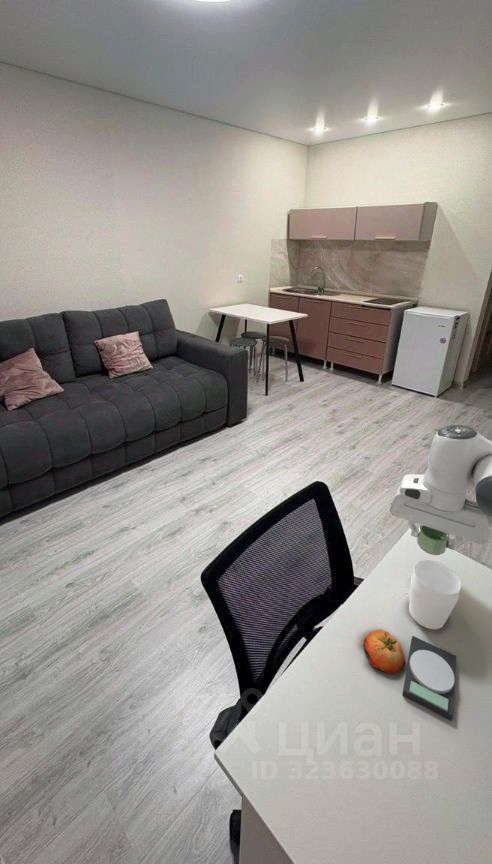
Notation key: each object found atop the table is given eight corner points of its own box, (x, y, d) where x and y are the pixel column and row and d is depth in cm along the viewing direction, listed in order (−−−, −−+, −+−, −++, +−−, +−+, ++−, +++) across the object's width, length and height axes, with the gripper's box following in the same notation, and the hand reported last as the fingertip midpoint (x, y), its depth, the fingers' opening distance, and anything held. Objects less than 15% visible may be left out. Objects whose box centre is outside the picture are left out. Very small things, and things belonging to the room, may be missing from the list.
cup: (406, 593, 93) (416, 553, 89) (450, 612, 89) (462, 570, 85) (400, 624, 86) (410, 582, 82) (447, 645, 82) (461, 602, 77)
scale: (410, 644, 82) (413, 632, 81) (453, 664, 78) (457, 652, 77) (401, 699, 72) (404, 687, 71) (449, 725, 69) (454, 713, 68)
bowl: (426, 533, 100) (430, 519, 99) (451, 550, 95) (455, 535, 94) (410, 543, 98) (413, 528, 96) (435, 560, 92) (438, 545, 91)
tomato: (399, 686, 73) (380, 644, 75) (367, 684, 78) (349, 644, 79) (415, 660, 79) (397, 621, 80) (384, 659, 83) (367, 623, 85)
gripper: (497, 500, 88) (483, 549, 93) (398, 472, 98) (389, 518, 103) (498, 517, 83) (482, 568, 88) (393, 486, 93) (384, 533, 98)
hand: (431, 541), depth 96 cm, fingers closed on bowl, 6 cm apart
